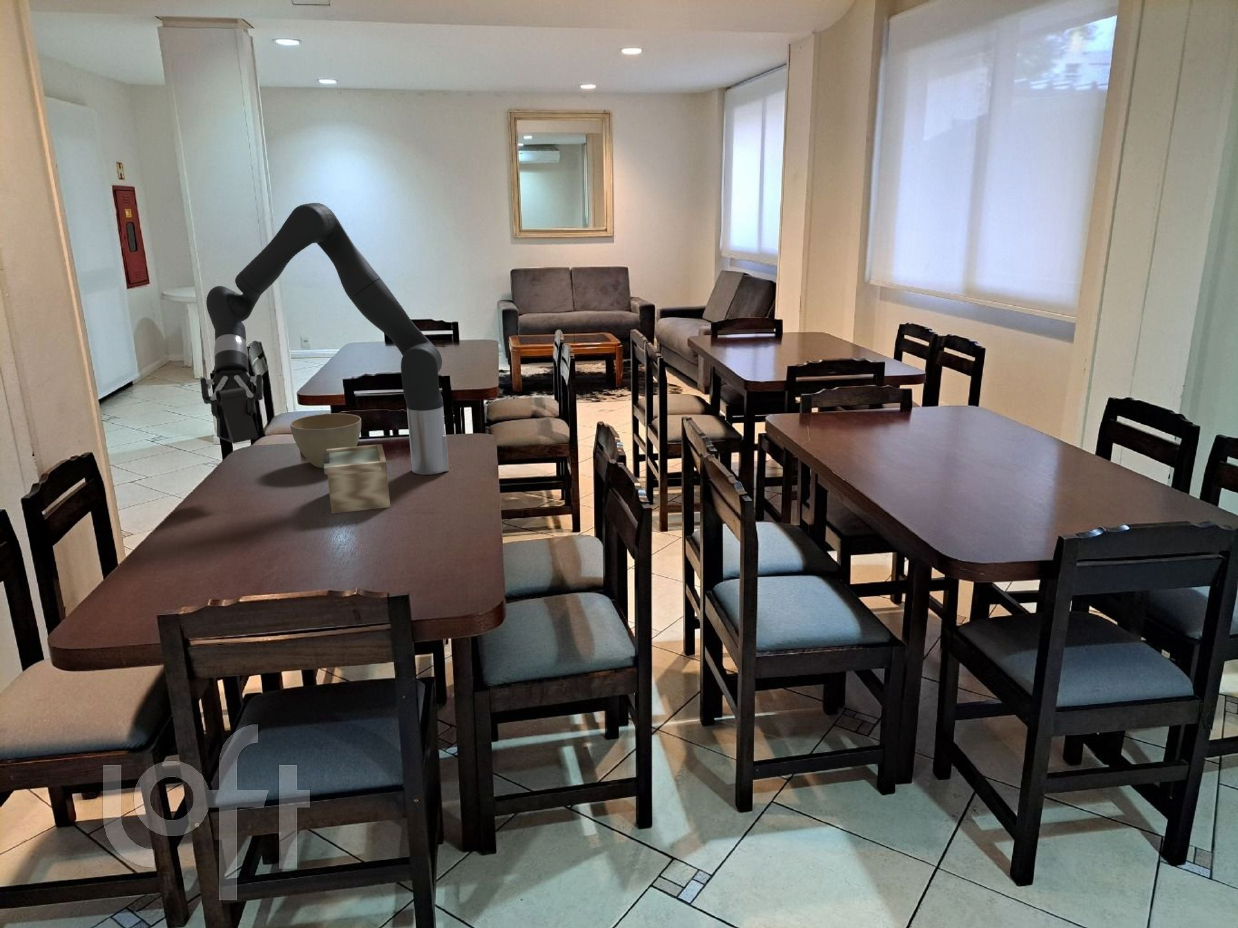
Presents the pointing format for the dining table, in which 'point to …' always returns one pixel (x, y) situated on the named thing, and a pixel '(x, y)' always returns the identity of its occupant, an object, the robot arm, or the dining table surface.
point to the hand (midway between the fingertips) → (233, 415)
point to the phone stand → (234, 416)
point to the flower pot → (325, 434)
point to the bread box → (357, 478)
